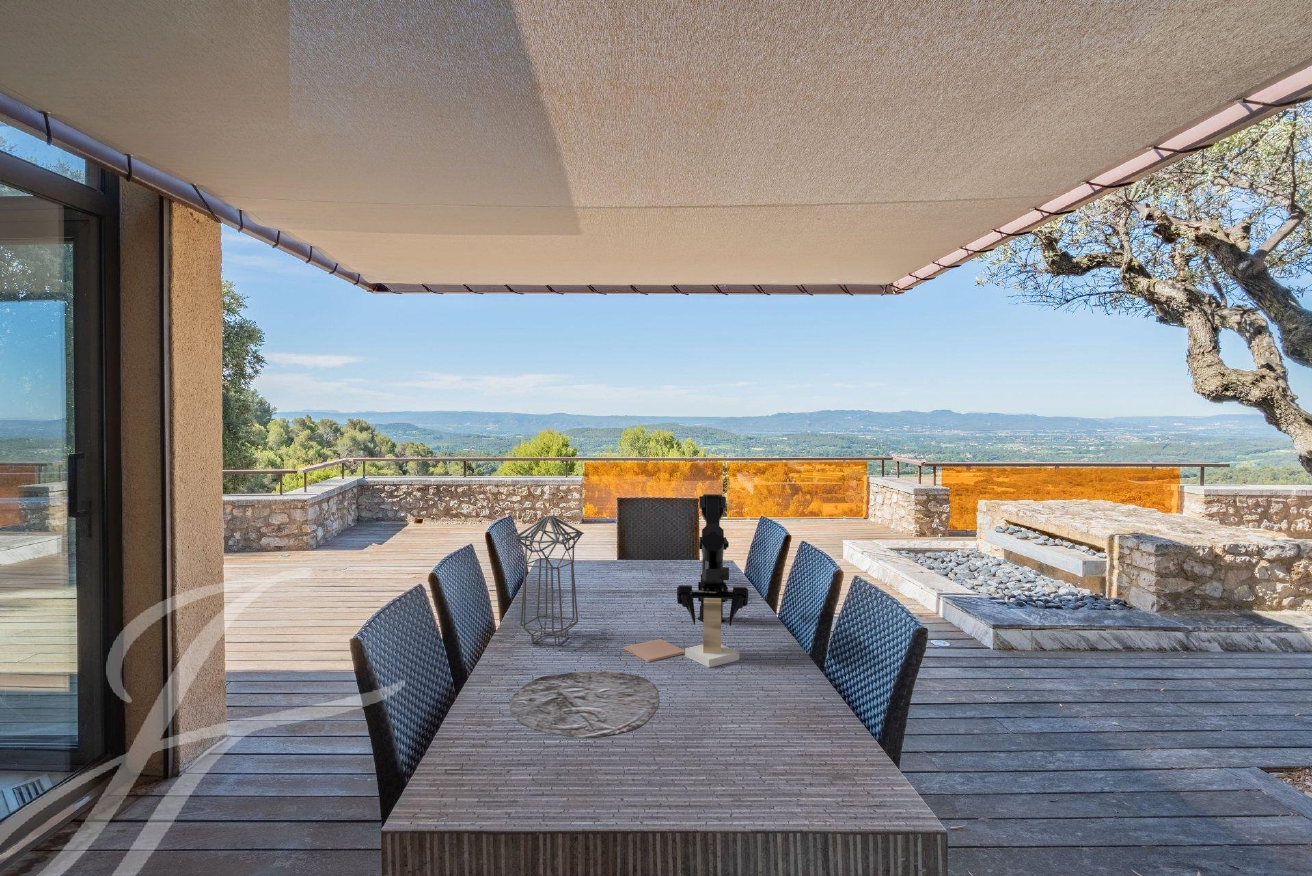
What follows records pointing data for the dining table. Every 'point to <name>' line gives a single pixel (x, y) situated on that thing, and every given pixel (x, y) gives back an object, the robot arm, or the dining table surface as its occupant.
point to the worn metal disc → (585, 704)
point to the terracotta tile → (654, 650)
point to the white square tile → (712, 655)
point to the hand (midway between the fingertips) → (712, 624)
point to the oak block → (712, 625)
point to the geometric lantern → (540, 527)
